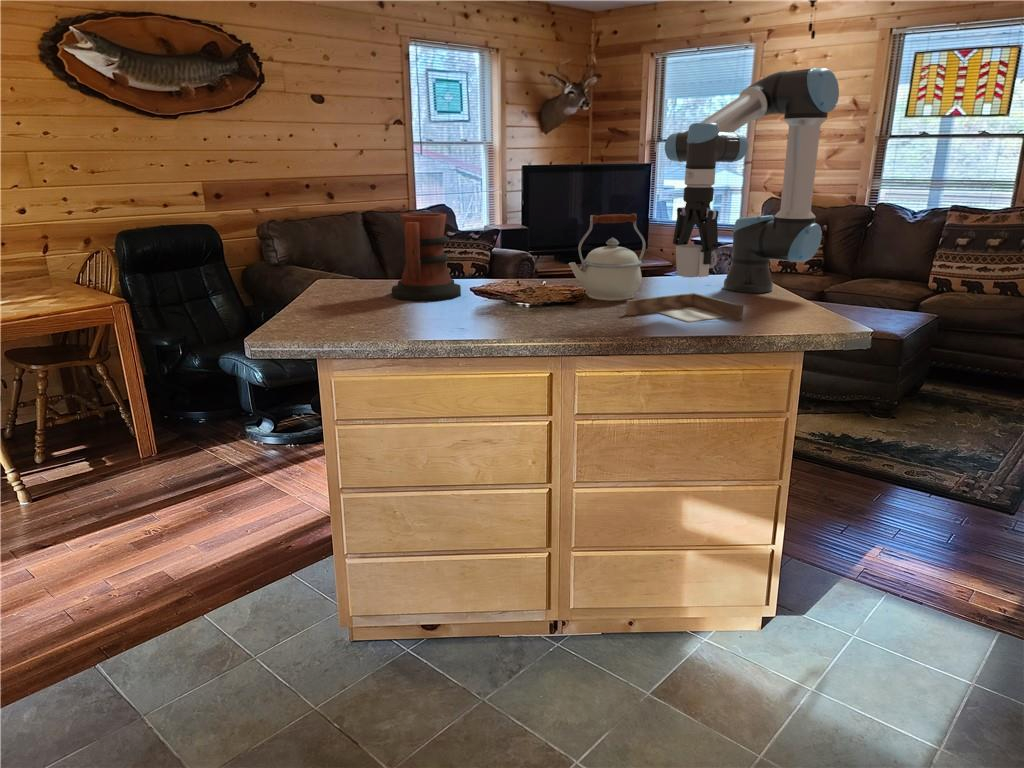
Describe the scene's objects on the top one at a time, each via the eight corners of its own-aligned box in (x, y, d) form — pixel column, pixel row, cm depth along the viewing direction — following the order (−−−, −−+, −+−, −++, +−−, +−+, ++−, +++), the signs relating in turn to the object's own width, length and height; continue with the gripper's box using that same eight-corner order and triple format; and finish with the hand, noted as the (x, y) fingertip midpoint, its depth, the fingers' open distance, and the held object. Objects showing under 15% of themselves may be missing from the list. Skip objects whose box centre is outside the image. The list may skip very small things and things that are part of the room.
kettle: (628, 289, 238) (632, 210, 230) (656, 299, 221) (661, 215, 214) (557, 294, 230) (558, 213, 223) (580, 305, 214) (582, 218, 206)
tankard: (468, 289, 238) (467, 212, 230) (449, 305, 215) (446, 219, 207) (404, 288, 242) (400, 211, 234) (377, 302, 218) (372, 218, 211)
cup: (714, 274, 198) (716, 244, 196) (716, 279, 191) (718, 248, 188) (674, 273, 200) (675, 244, 198) (674, 278, 193) (675, 247, 191)
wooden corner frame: (692, 306, 211) (693, 293, 210) (742, 320, 194) (743, 305, 193) (625, 314, 201) (626, 300, 200) (671, 329, 184) (672, 314, 183)
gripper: (662, 184, 197) (657, 269, 204) (715, 188, 179) (707, 281, 186) (684, 184, 200) (679, 267, 207) (738, 187, 182) (730, 278, 189)
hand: (692, 274), depth 196 cm, fingers closed on cup, 8 cm apart
